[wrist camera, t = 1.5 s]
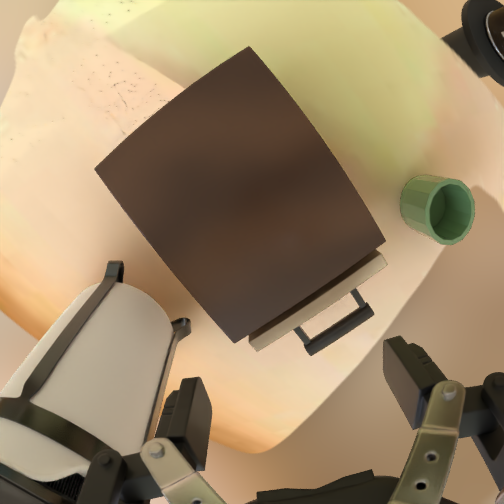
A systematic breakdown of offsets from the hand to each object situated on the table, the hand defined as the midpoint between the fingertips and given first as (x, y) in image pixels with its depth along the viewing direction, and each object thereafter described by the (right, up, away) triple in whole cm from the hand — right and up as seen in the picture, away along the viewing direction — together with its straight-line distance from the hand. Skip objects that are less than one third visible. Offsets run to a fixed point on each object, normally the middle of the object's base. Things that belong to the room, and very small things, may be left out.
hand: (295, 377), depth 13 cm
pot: (+17, +10, +17) cm, 26 cm away
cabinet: (-3, +11, +17) cm, 21 cm away
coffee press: (-16, -3, +21) cm, 27 cm away
